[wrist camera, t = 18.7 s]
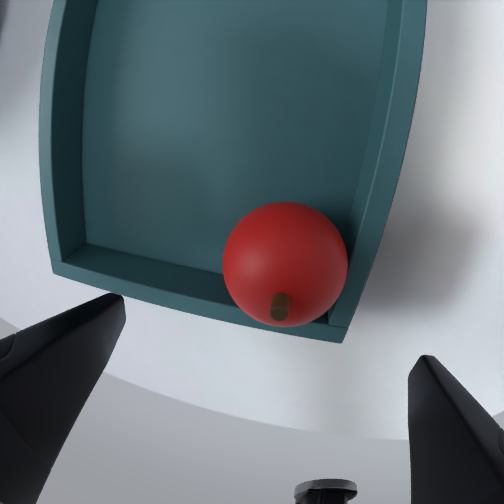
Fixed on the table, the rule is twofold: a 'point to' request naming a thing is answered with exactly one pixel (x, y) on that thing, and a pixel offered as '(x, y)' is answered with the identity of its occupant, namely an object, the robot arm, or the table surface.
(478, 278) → the table surface
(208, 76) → the tray
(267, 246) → the apple
